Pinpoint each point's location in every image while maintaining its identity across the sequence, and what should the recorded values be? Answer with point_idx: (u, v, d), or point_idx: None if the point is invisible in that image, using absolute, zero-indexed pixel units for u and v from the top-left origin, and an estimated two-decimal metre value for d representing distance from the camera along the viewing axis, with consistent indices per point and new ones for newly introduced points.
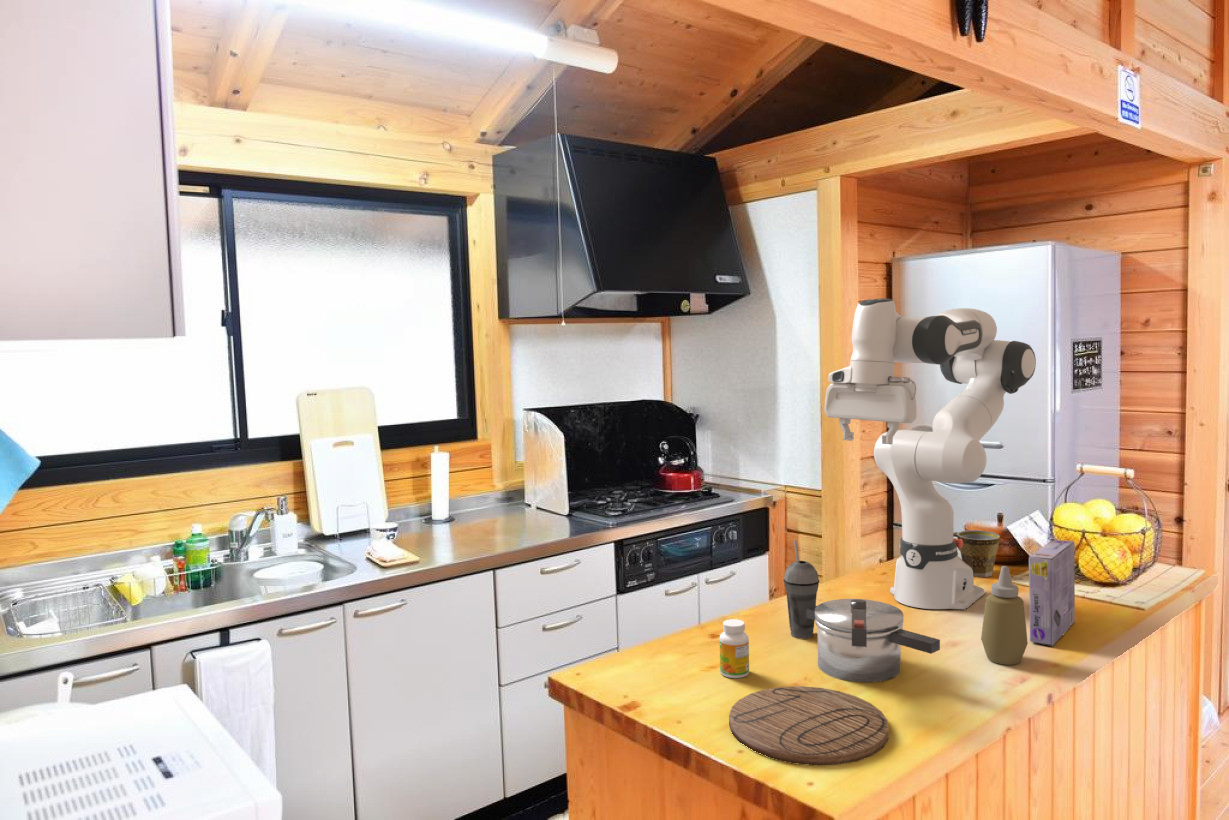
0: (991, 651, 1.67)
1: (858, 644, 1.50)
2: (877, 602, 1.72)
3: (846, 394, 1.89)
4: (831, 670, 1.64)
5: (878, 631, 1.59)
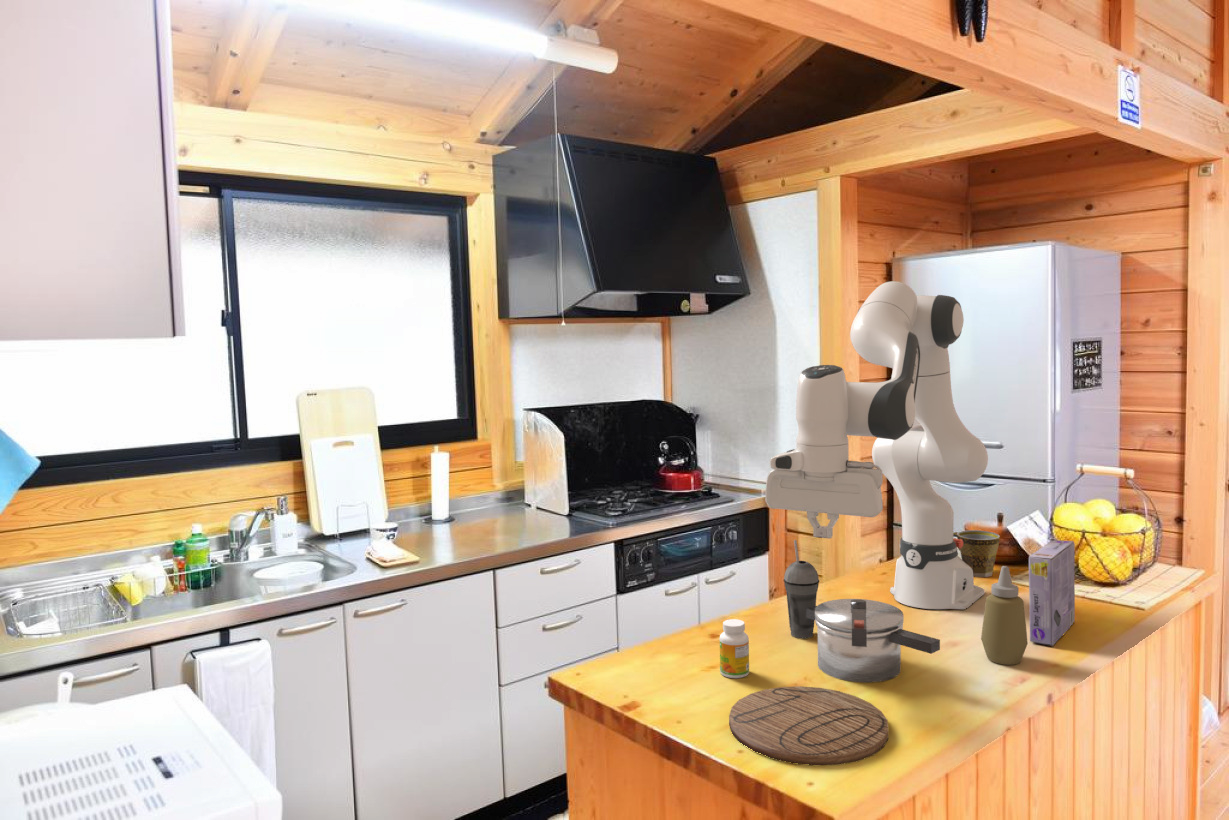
0: (991, 651, 1.67)
1: (858, 644, 1.50)
2: (877, 602, 1.72)
3: (793, 482, 1.57)
4: (831, 670, 1.64)
5: (878, 631, 1.59)
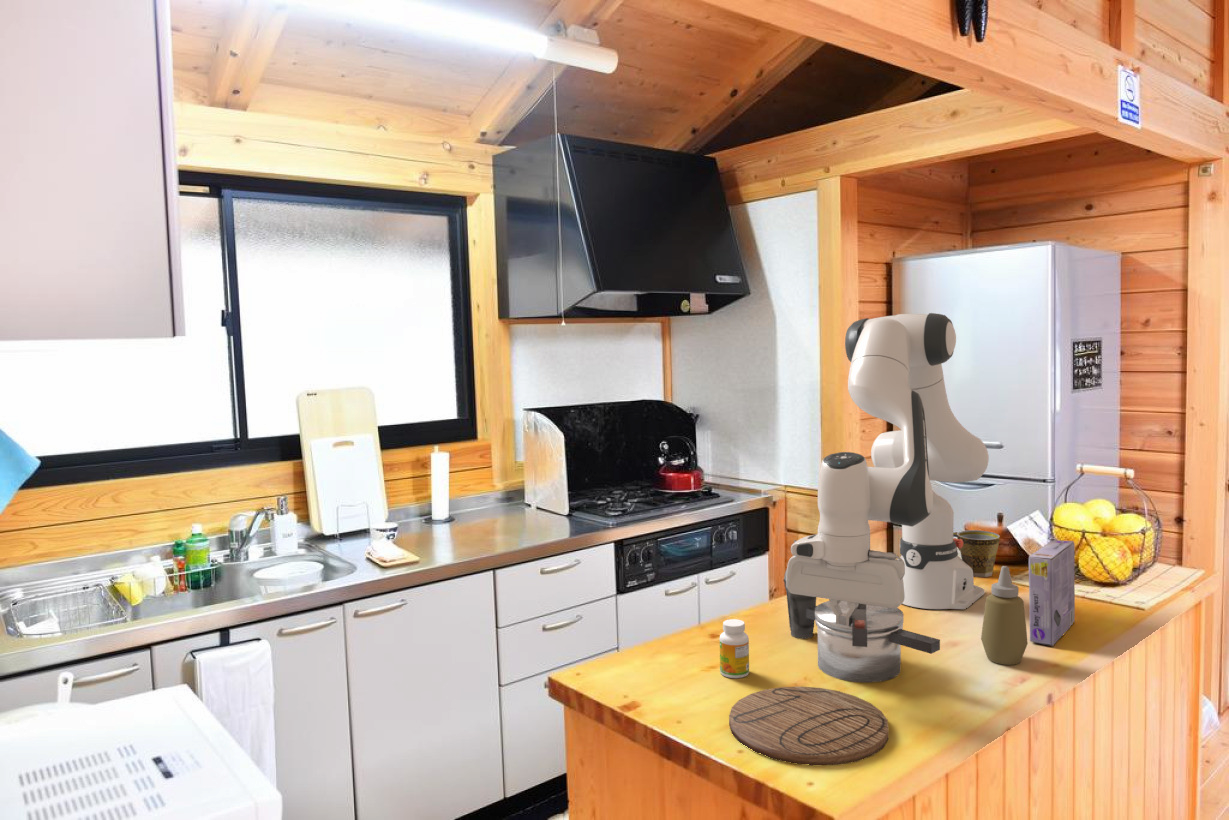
0: (991, 651, 1.67)
1: (858, 644, 1.50)
2: None
3: (814, 569, 1.57)
4: (831, 670, 1.64)
5: (878, 631, 1.59)
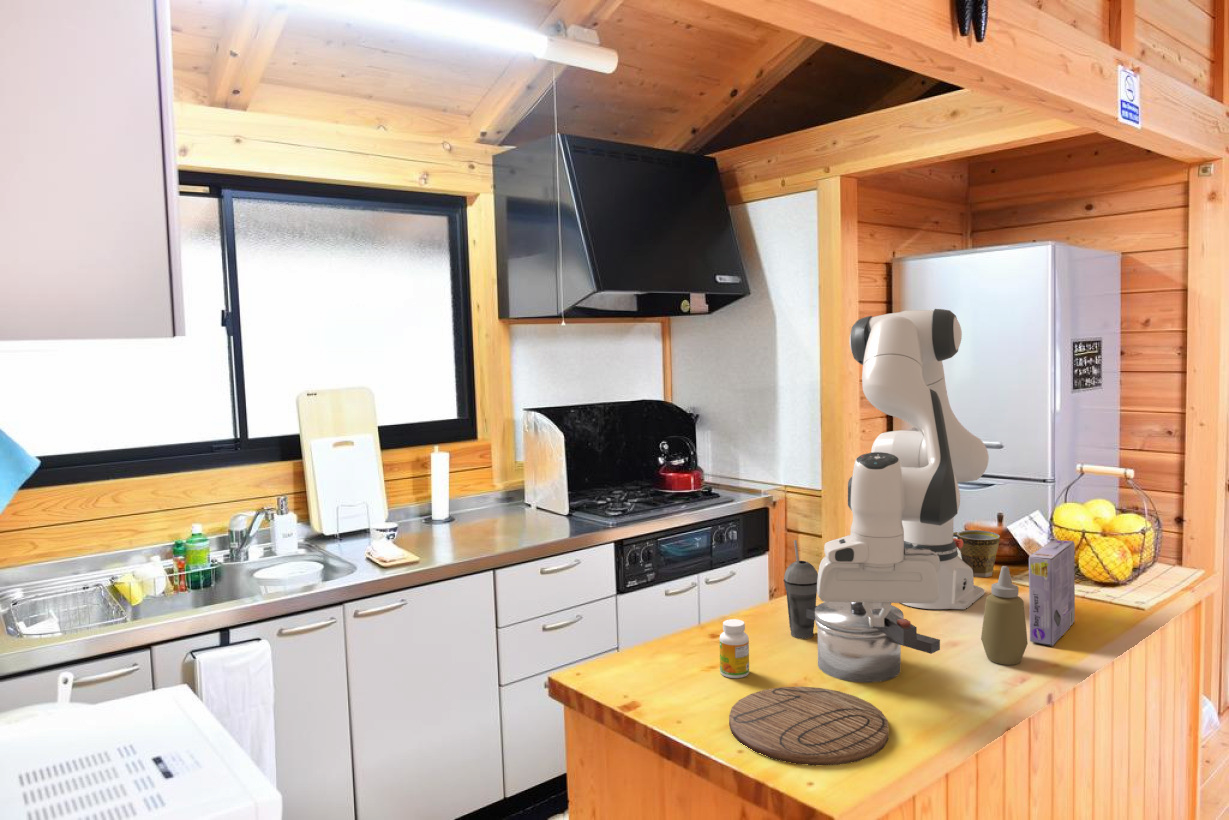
0: (991, 651, 1.67)
1: (909, 643, 1.50)
2: None
3: (850, 574, 1.53)
4: (831, 670, 1.64)
5: None
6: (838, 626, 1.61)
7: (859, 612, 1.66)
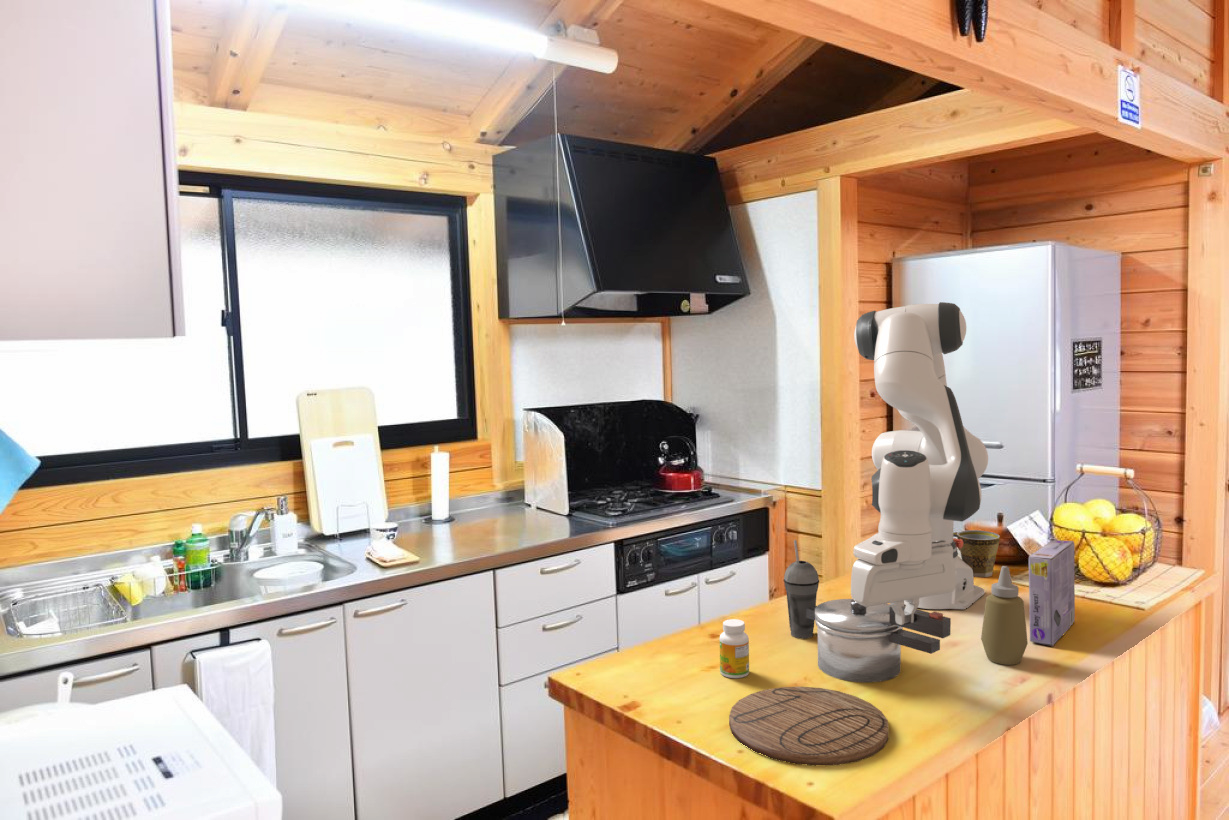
0: (991, 651, 1.67)
1: (946, 635, 1.53)
2: (842, 600, 1.74)
3: (888, 574, 1.52)
4: (831, 670, 1.64)
5: None
6: (858, 629, 1.59)
7: (862, 612, 1.66)
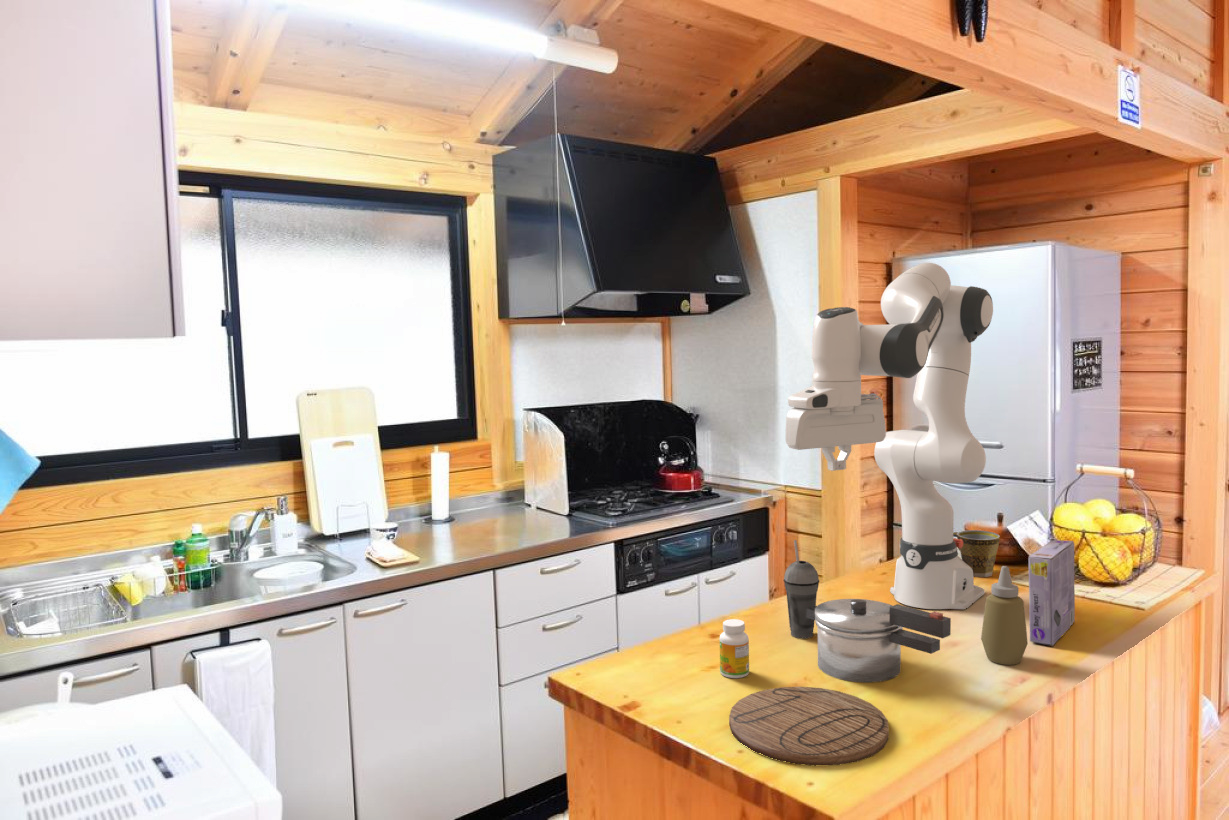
0: (991, 651, 1.67)
1: (946, 635, 1.53)
2: (842, 600, 1.74)
3: (820, 420, 1.63)
4: (831, 670, 1.64)
5: None
6: (859, 629, 1.59)
7: (862, 612, 1.66)
